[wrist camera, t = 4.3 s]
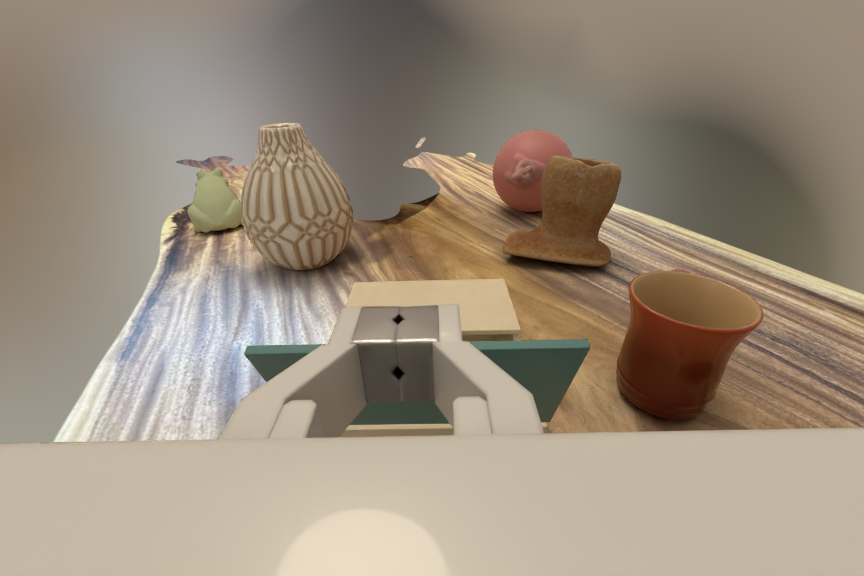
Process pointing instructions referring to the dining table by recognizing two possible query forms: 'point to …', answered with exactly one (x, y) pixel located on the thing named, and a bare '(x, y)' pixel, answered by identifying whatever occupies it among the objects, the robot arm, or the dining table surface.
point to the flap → (523, 360)
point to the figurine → (214, 203)
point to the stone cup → (570, 213)
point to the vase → (294, 201)
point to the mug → (681, 340)
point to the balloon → (525, 168)
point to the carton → (478, 307)
